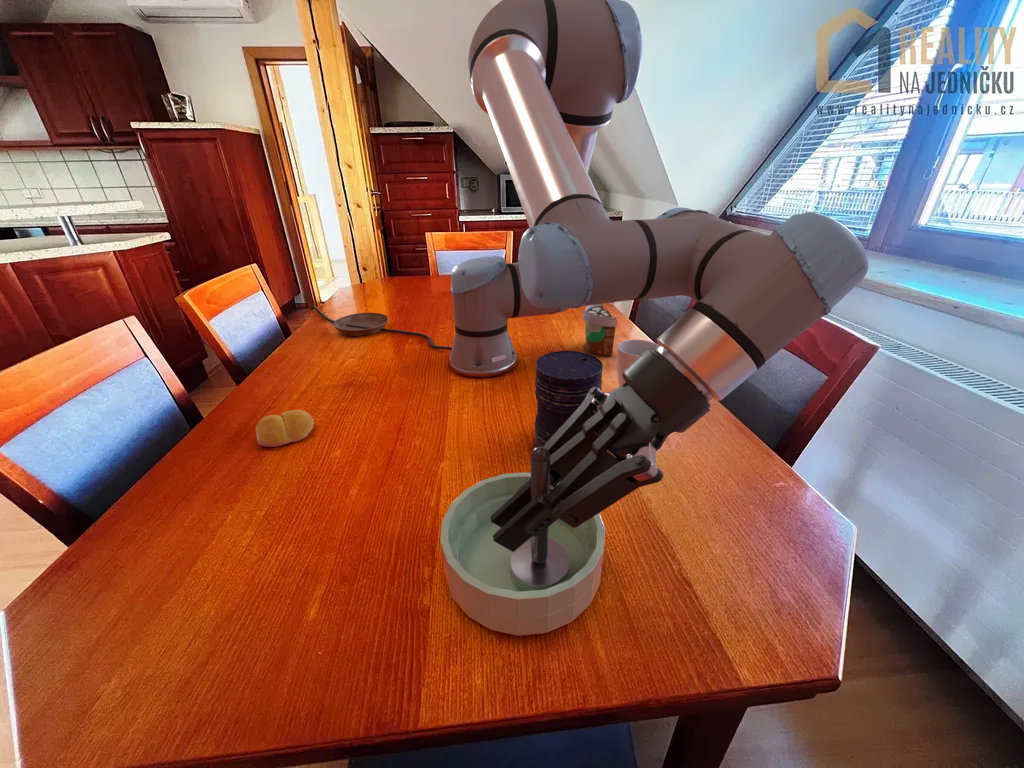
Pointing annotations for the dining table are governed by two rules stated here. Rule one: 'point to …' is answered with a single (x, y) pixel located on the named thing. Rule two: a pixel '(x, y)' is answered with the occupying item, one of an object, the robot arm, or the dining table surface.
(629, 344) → the cup
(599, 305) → the food container
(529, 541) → the peg on round base
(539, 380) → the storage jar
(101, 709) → the dining table surface
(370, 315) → the saucer
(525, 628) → the bowl
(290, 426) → the bread roll
